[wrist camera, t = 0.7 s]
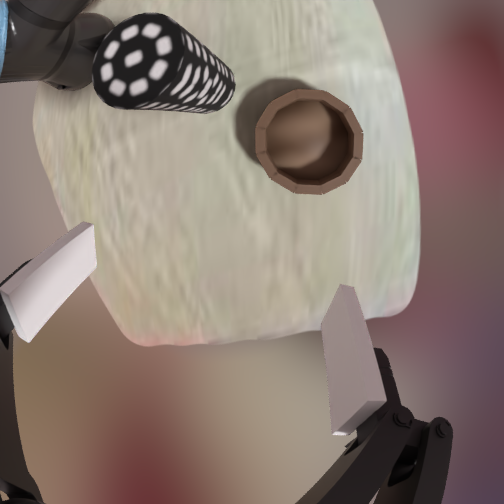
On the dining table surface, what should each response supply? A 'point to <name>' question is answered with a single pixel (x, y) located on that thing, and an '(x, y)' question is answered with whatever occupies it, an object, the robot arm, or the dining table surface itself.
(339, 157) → the holder
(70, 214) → the dining table surface
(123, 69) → the white-spotted black cylinder
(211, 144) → the dining table surface
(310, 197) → the dining table surface
